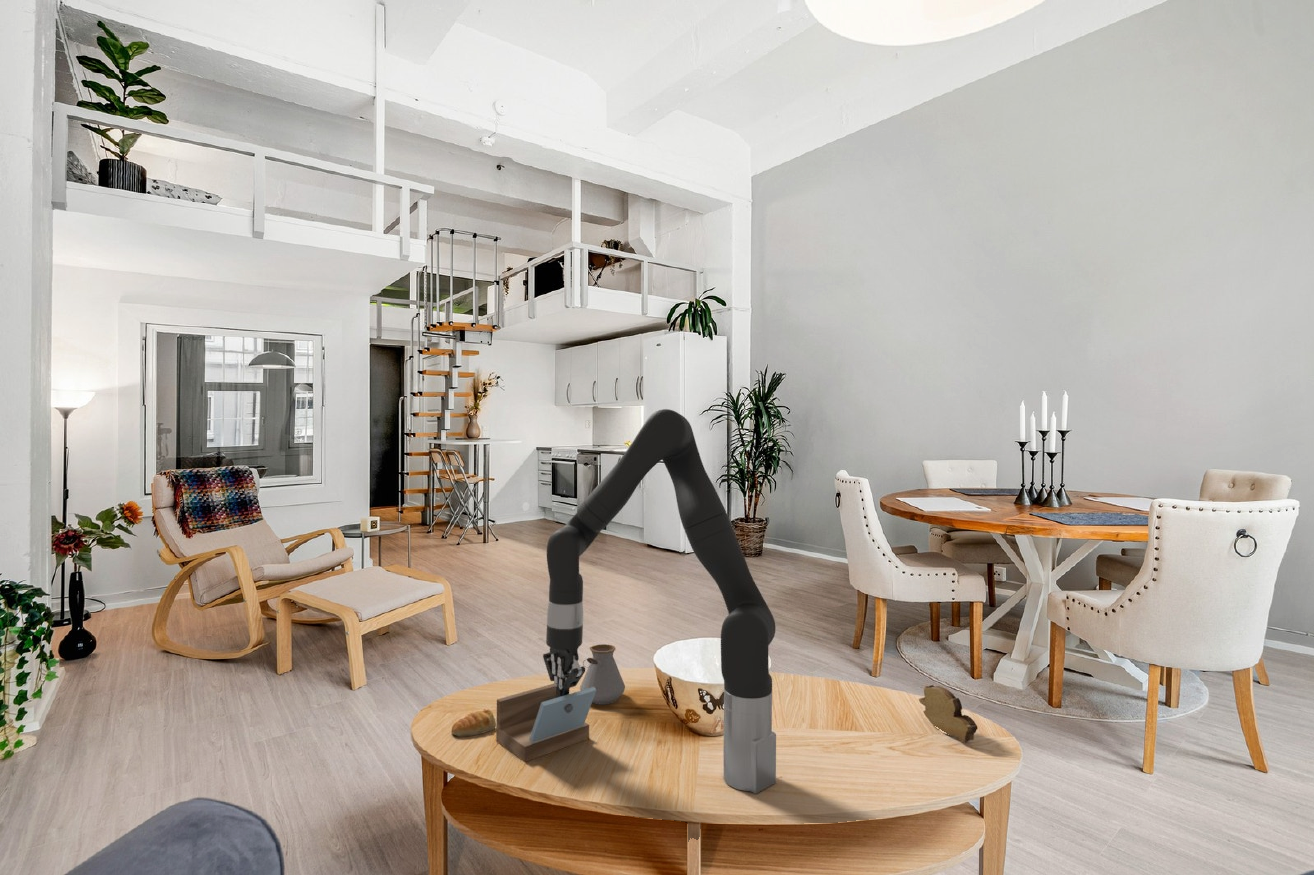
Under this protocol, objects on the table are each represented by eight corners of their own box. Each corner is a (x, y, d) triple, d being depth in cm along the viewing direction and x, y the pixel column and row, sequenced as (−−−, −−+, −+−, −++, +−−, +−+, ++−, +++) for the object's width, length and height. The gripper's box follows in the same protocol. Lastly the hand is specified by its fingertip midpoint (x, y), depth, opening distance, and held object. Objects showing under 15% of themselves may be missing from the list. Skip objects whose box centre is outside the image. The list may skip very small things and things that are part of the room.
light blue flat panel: (529, 739, 132) (541, 702, 128) (581, 722, 140) (594, 686, 137) (533, 746, 130) (545, 708, 127) (585, 728, 139) (598, 692, 136)
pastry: (459, 742, 139) (459, 724, 139) (445, 732, 144) (446, 715, 144) (498, 729, 145) (498, 712, 145) (484, 720, 150) (484, 704, 150)
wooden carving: (984, 747, 138) (984, 701, 139) (968, 750, 137) (968, 703, 137) (928, 717, 154) (928, 675, 154) (912, 719, 152) (913, 677, 153)
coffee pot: (586, 688, 170) (587, 632, 170) (629, 691, 168) (629, 634, 168) (562, 722, 148) (563, 657, 149) (610, 726, 147) (611, 660, 147)
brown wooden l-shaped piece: (589, 738, 140) (589, 697, 141) (524, 761, 130) (525, 717, 130) (558, 720, 149) (559, 682, 150) (496, 741, 139) (496, 699, 139)
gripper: (598, 626, 132) (595, 710, 132) (562, 612, 142) (559, 690, 142) (567, 633, 127) (564, 720, 127) (533, 617, 137) (530, 698, 137)
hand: (562, 704), depth 134 cm, fingers closed
